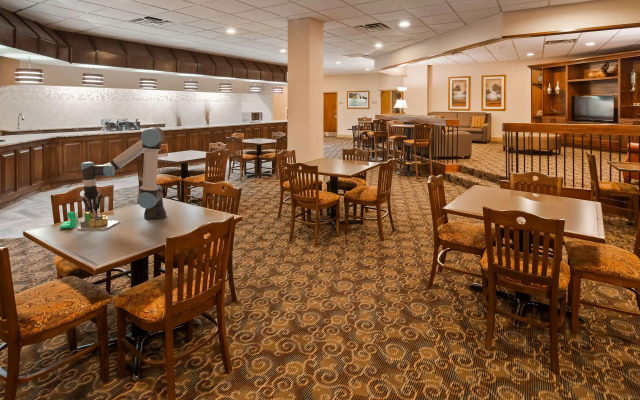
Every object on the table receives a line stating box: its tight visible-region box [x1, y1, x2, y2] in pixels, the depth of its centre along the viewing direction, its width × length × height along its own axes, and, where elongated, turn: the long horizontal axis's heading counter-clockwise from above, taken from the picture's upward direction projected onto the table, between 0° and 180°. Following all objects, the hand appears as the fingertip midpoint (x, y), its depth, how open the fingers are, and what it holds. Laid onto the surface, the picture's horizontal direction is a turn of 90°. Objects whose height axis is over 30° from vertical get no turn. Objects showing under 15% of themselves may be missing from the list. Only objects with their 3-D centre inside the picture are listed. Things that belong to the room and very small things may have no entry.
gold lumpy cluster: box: [83, 211, 109, 226], centre depth 267 cm, size 16×11×7 cm
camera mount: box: [59, 211, 78, 229], centre depth 264 cm, size 12×8×10 cm, turn 18°
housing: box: [77, 214, 120, 231], centre depth 266 cm, size 19×18×7 cm
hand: (94, 219), depth 272 cm, fingers closed
